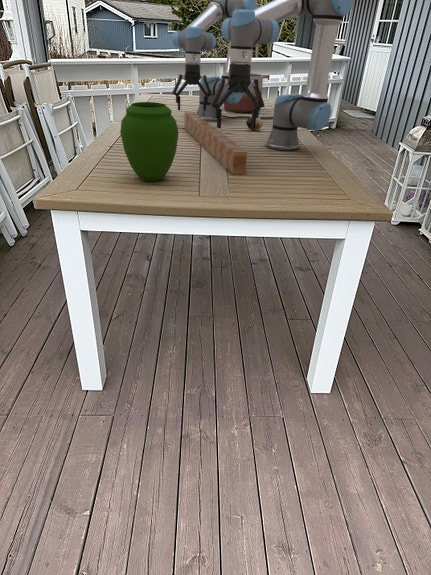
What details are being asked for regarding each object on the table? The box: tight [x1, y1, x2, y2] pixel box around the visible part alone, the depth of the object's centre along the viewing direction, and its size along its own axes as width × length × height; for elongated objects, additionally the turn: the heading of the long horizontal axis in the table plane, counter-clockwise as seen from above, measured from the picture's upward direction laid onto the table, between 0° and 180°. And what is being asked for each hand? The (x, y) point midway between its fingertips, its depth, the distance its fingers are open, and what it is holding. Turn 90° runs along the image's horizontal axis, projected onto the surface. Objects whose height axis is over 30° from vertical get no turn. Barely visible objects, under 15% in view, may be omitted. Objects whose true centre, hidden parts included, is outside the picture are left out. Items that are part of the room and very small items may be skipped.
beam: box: [184, 111, 248, 175], centre depth 187 cm, size 84×5×8 cm, turn 16°
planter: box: [223, 72, 264, 114], centre depth 276 cm, size 25×25×22 cm
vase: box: [119, 101, 179, 182], centre depth 140 cm, size 20×20×24 cm
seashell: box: [245, 116, 264, 131], centre depth 224 cm, size 10×6×8 cm, turn 97°
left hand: (191, 110), depth 212 cm, fingers open, 13 cm apart
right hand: (236, 127), depth 153 cm, fingers open, 13 cm apart
